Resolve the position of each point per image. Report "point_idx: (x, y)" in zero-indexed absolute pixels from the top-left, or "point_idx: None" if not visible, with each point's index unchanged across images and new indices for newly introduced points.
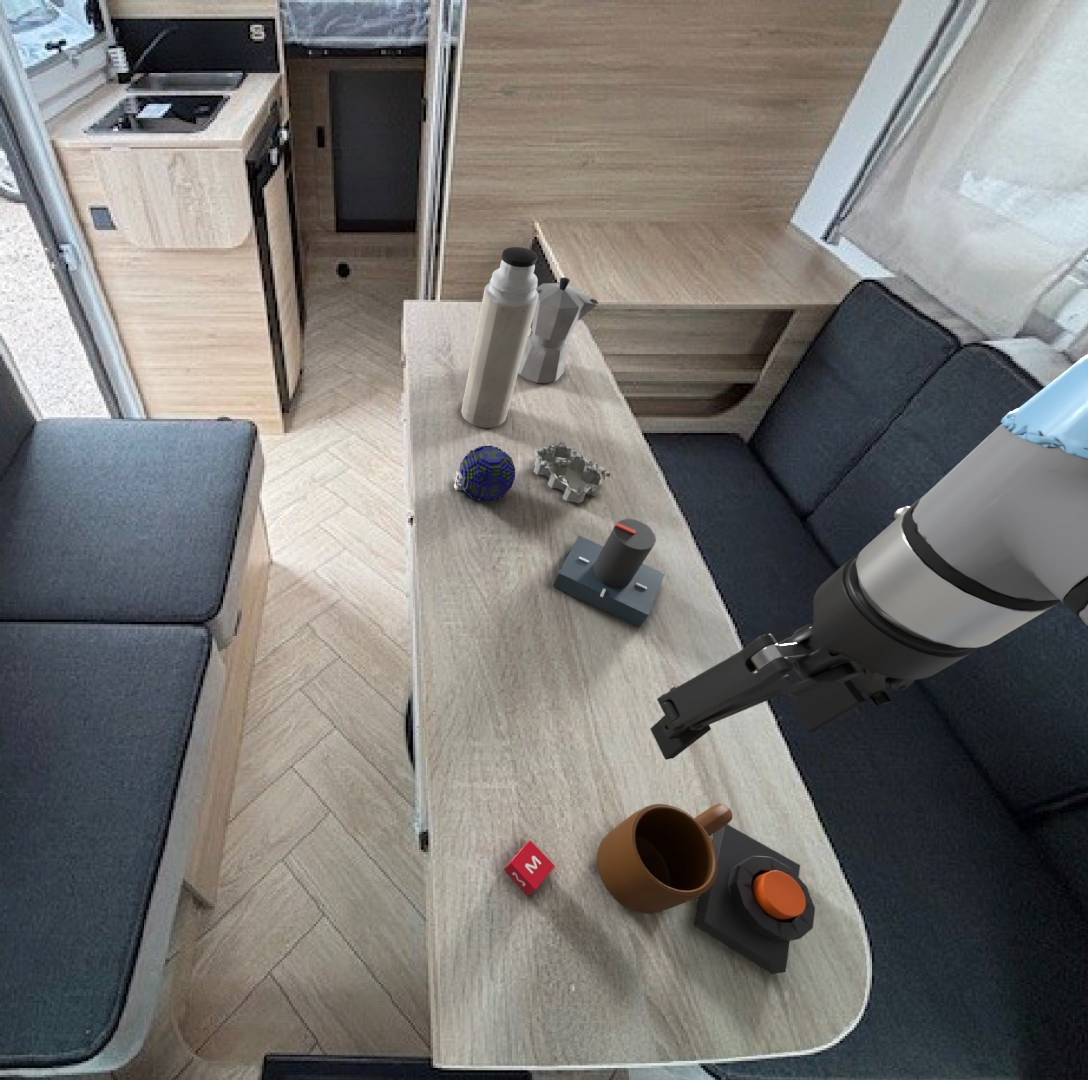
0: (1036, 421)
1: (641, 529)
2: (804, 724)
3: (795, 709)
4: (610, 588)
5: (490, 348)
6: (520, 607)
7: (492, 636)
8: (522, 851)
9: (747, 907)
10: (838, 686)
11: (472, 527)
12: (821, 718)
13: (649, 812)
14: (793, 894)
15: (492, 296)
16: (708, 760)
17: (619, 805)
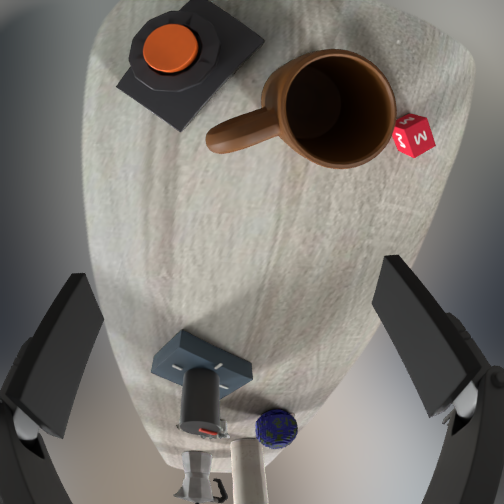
0: None
1: (191, 429)
2: (87, 289)
3: (96, 313)
4: (208, 368)
5: (262, 492)
6: (290, 349)
7: (328, 328)
8: (424, 151)
9: (216, 40)
10: (52, 411)
11: (295, 395)
12: (66, 315)
13: (330, 158)
14: (157, 44)
15: None
16: (158, 201)
17: (286, 165)
